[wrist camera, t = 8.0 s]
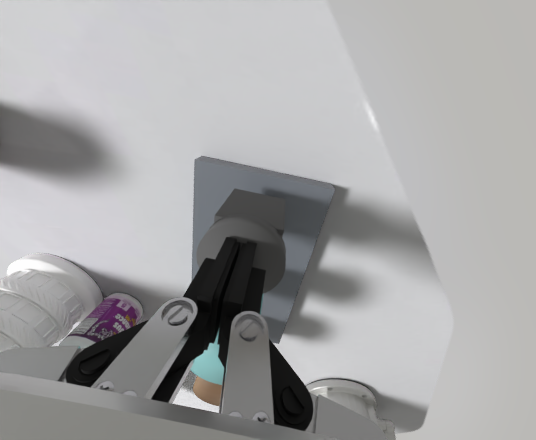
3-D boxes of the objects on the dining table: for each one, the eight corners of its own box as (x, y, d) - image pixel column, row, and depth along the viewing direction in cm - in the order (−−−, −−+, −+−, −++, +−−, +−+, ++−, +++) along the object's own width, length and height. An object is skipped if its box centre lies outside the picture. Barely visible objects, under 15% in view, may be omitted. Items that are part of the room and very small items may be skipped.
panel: (331, 184, 19) (350, 214, 13) (279, 332, 29) (277, 385, 23) (201, 155, 18) (163, 174, 13) (195, 314, 29) (172, 364, 23)
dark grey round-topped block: (293, 194, 16) (295, 235, 10) (279, 247, 18) (275, 303, 13) (228, 180, 16) (197, 214, 10) (223, 235, 18) (195, 286, 12)
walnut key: (258, 323, 23) (249, 386, 18) (251, 349, 26) (241, 410, 20) (215, 314, 23) (193, 374, 18) (212, 341, 25) (192, 400, 20)
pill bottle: (152, 313, 29) (96, 394, 21) (125, 320, 31) (62, 399, 22) (127, 286, 27) (54, 365, 19) (99, 295, 29) (19, 372, 20)
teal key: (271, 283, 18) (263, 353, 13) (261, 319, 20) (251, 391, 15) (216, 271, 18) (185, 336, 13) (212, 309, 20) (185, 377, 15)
